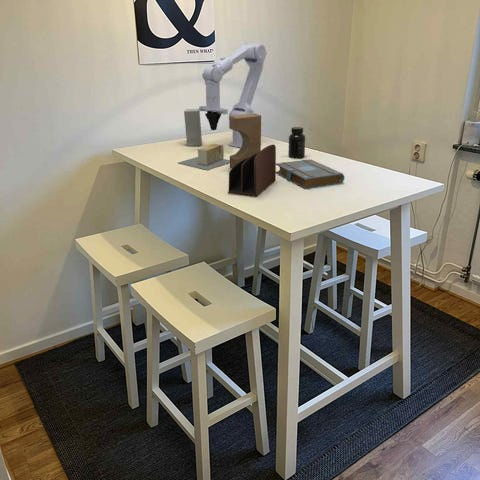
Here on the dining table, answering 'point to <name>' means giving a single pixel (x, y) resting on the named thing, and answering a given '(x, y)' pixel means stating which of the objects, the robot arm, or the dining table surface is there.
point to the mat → (194, 163)
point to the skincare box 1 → (193, 127)
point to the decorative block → (246, 135)
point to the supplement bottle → (296, 143)
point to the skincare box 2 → (210, 154)
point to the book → (309, 174)
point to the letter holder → (253, 173)
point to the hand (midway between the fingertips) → (213, 129)
